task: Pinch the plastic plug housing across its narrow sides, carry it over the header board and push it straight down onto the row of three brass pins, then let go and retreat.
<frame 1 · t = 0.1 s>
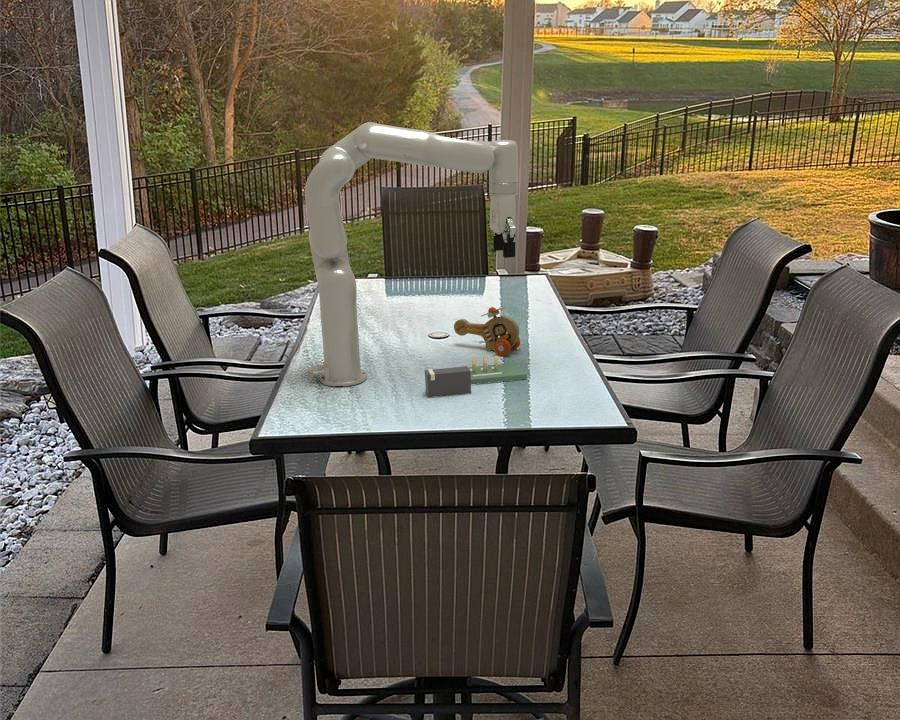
hand: (504, 253, 234), 31 cm above the table, tool pointing down, fingers open, 9 cm apart
toy helicopter: (489, 350, 256), on the table
header board: (485, 377, 234), on the table
plug housing: (448, 392, 223), on the table
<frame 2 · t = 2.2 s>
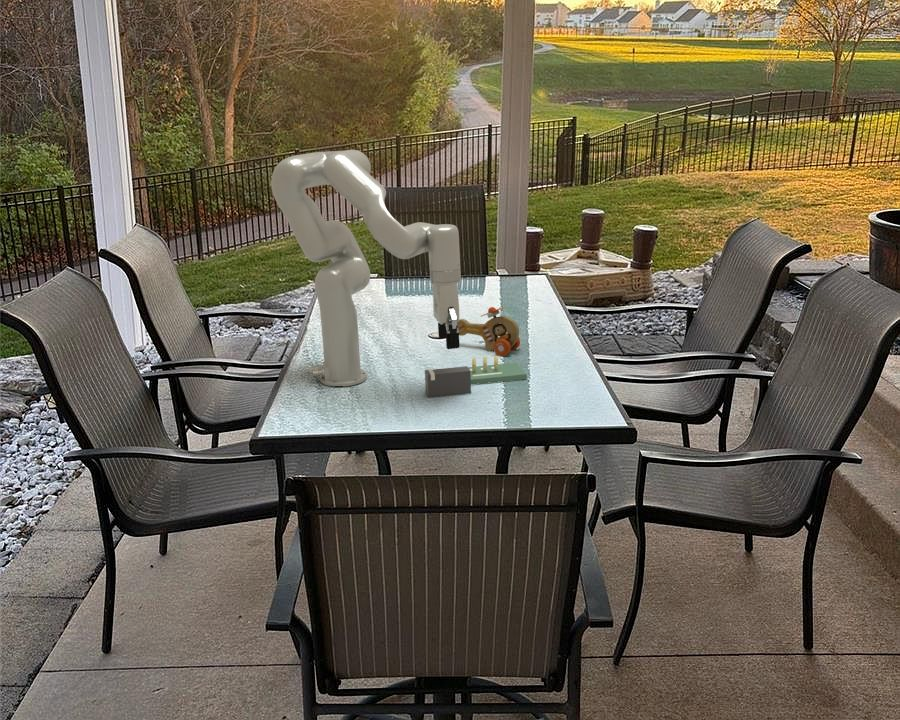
hand: (449, 342, 219), 13 cm above the table, tool pointing down, fingers open, 9 cm apart
nothing on the table moved.
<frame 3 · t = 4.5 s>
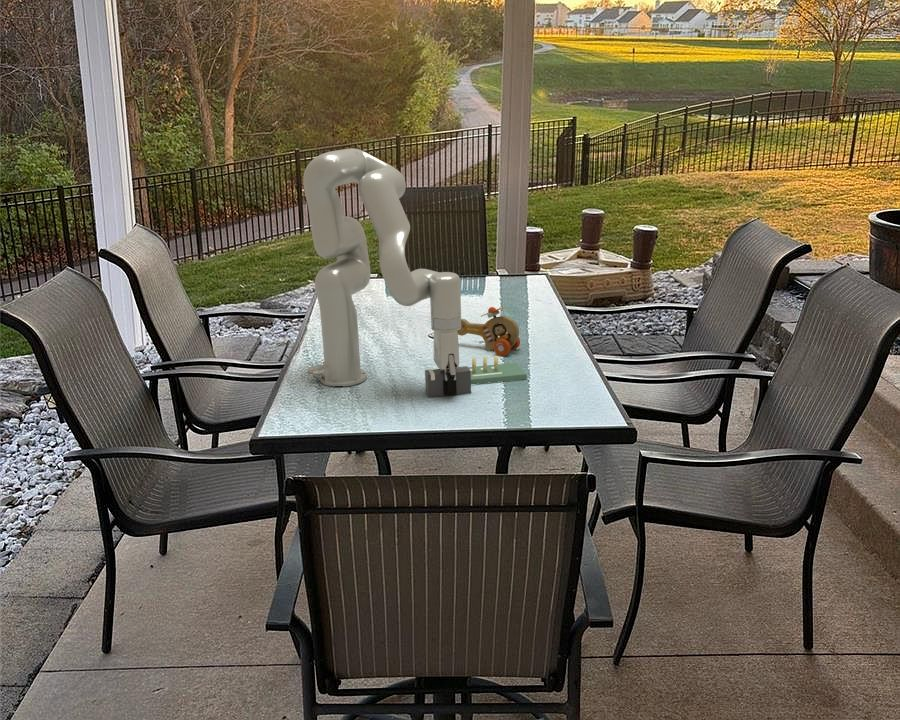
hand: (448, 391, 223), 0 cm above the table, tool pointing down, fingers closed on plug housing, 3 cm apart
plug housing: (448, 392, 223), on the table, touching gripper
everything else where it was.
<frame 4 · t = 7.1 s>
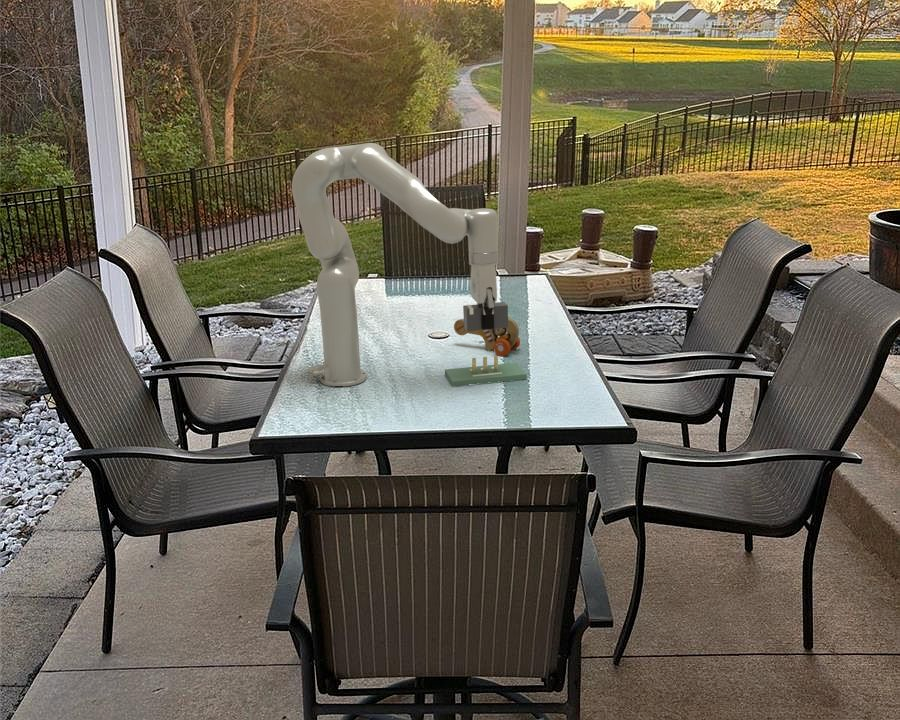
hand: (485, 326, 229), 14 cm above the table, tool pointing down, fingers closed on plug housing, 3 cm apart
plug housing: (486, 327, 229), point 14 cm above the table, touching gripper
everything else where it was.
when the fingers open (3 cm above the table, at t = 9.8 s): plug housing stays where it is, resting on header board.
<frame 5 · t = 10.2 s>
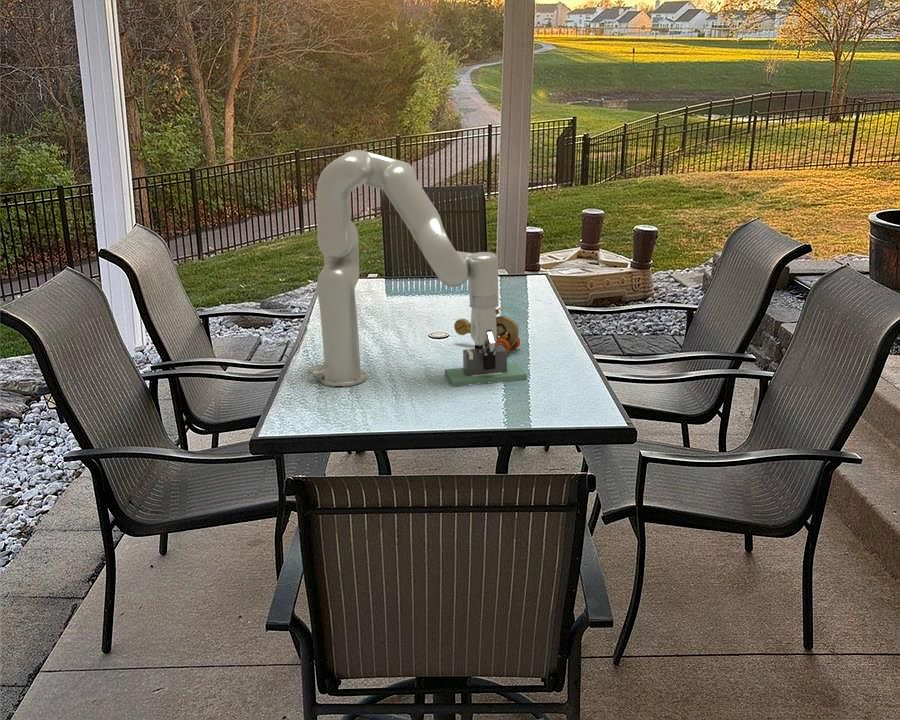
hand: (485, 363, 232), 4 cm above the table, tool pointing down, fingers open, 8 cm apart
plug housing: (485, 371, 233), point 2 cm above the table, touching header board
everything else where it was.
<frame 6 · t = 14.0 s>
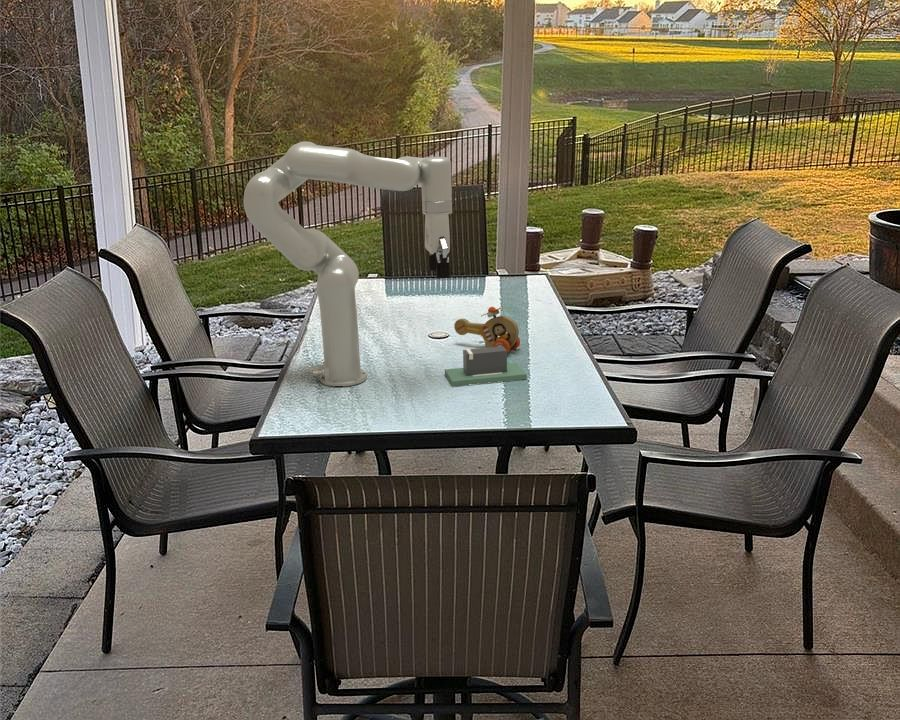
hand: (439, 273, 225), 28 cm above the table, tool pointing down, fingers open, 9 cm apart
nothing on the table moved.
at the end: plug housing 0.0 cm off-centre on the header board, point 1.6 cm above the header board's base; plug housing tilted 2°; the gripper is holding nothing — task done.
